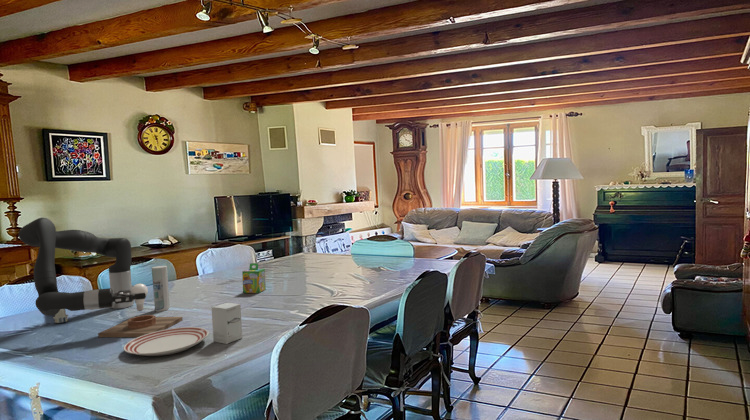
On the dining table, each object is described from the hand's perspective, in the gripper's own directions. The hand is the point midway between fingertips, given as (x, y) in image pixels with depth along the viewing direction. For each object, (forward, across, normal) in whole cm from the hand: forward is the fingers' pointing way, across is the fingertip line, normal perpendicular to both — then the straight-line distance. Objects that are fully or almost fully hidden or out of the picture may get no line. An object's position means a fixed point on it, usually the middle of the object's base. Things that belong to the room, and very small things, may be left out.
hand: (146, 294), depth 194 cm
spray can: (+5, +30, +14) cm, 33 cm away
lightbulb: (-2, 0, +7) cm, 7 cm away
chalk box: (+49, +45, +13) cm, 68 cm away
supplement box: (+28, -34, +14) cm, 46 cm away
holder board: (-2, 0, +14) cm, 14 cm away
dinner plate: (+8, -31, +14) cm, 35 cm away
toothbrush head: (-39, +40, +14) cm, 58 cm away
